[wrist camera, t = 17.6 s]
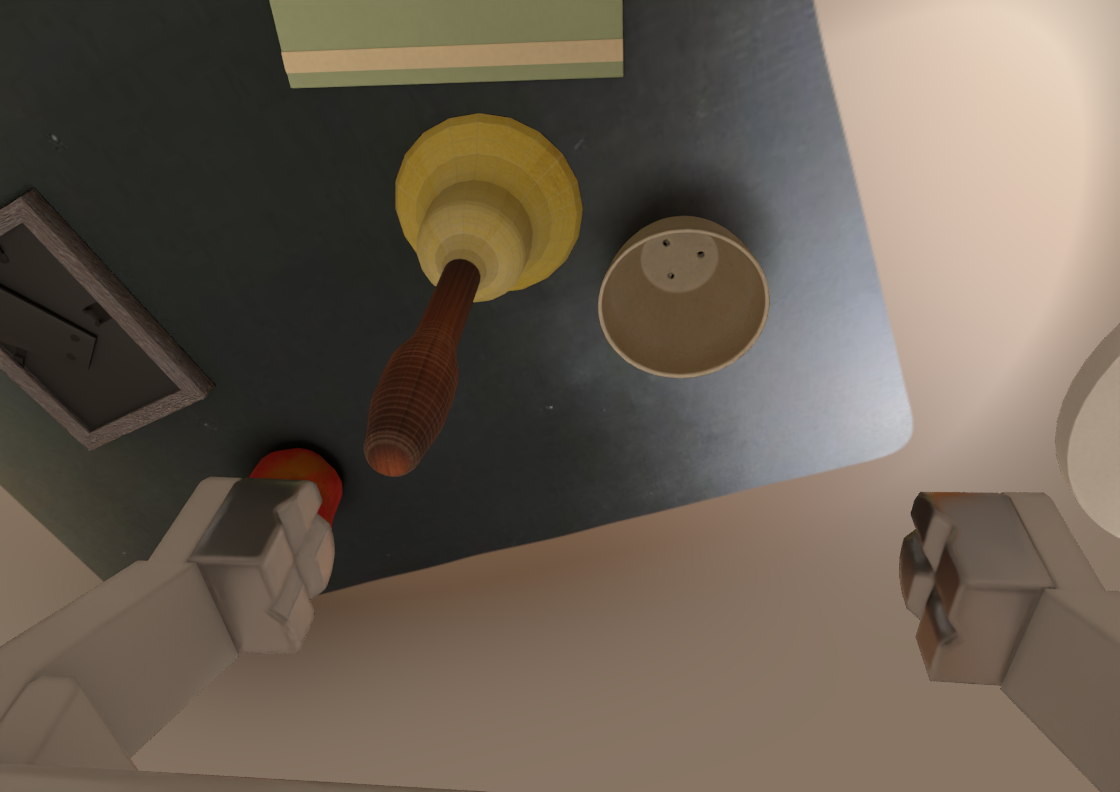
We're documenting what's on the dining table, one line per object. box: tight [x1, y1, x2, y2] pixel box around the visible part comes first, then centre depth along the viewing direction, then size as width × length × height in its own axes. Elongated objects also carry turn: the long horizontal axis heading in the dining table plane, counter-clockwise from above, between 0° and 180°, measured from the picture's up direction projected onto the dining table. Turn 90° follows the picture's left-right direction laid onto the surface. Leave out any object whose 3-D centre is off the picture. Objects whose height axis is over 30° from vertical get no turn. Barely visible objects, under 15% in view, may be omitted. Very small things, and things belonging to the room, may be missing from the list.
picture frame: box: [0, 188, 215, 451], centre depth 61 cm, size 13×2×18 cm
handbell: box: [364, 113, 583, 477], centre depth 43 cm, size 12×12×25 cm
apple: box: [249, 448, 342, 528], centre depth 64 cm, size 9×8×12 cm
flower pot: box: [598, 216, 770, 378], centre depth 51 cm, size 10×10×7 cm
